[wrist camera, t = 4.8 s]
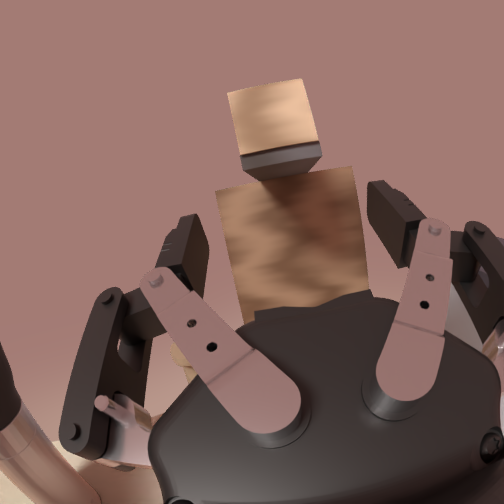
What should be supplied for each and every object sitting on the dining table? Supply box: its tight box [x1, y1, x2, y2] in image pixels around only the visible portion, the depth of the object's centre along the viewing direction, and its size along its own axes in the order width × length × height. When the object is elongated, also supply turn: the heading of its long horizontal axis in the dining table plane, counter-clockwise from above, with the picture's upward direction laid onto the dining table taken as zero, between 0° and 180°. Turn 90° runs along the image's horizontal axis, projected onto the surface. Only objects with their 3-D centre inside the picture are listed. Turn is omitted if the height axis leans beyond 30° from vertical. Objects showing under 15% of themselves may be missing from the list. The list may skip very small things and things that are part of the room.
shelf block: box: [215, 166, 369, 325], centre depth 31 cm, size 12×13×32 cm
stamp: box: [227, 79, 322, 181], centre depth 23 cm, size 4×22×6 cm, turn 173°
